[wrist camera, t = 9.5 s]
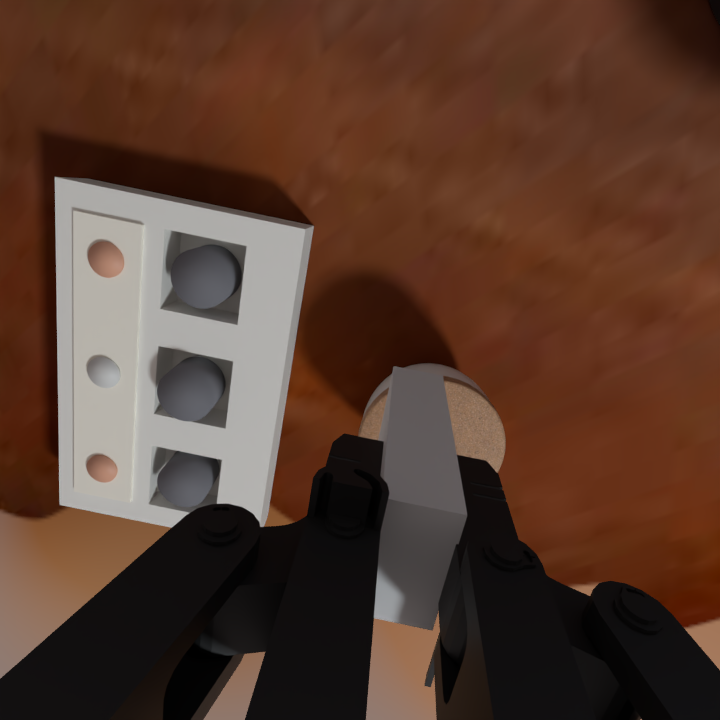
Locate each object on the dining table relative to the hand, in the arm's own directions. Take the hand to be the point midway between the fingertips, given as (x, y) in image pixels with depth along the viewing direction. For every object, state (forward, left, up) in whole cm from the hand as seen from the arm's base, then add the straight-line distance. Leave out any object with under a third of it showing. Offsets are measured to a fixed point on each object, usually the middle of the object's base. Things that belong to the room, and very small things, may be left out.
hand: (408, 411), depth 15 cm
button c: (+14, +20, -24) cm, 35 cm away
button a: (+14, +2, -24) cm, 28 cm away
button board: (+16, +11, -26) cm, 32 cm away
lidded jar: (-5, +10, -26) cm, 28 cm away
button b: (+14, +12, -23) cm, 29 cm away
